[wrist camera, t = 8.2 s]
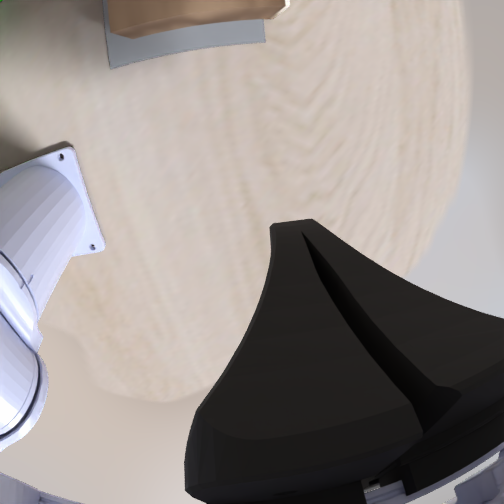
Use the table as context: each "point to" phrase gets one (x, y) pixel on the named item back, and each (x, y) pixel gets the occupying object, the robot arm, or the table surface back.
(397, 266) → the table surface
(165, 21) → the walnut block
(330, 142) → the table surface
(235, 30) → the mat
